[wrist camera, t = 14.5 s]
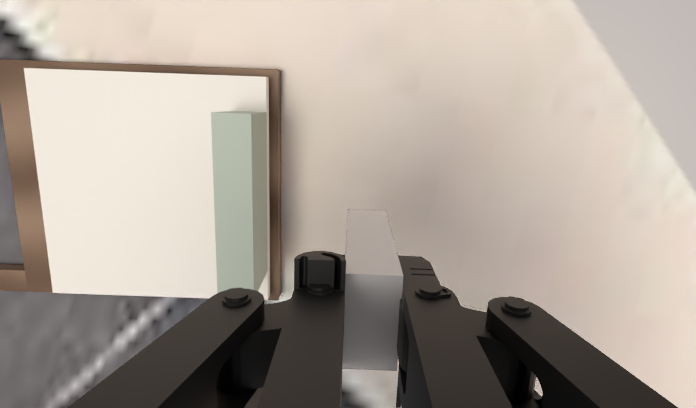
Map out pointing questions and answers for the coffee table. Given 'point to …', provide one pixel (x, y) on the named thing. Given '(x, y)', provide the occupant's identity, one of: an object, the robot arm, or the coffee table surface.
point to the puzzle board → (10, 89)
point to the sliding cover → (152, 181)
